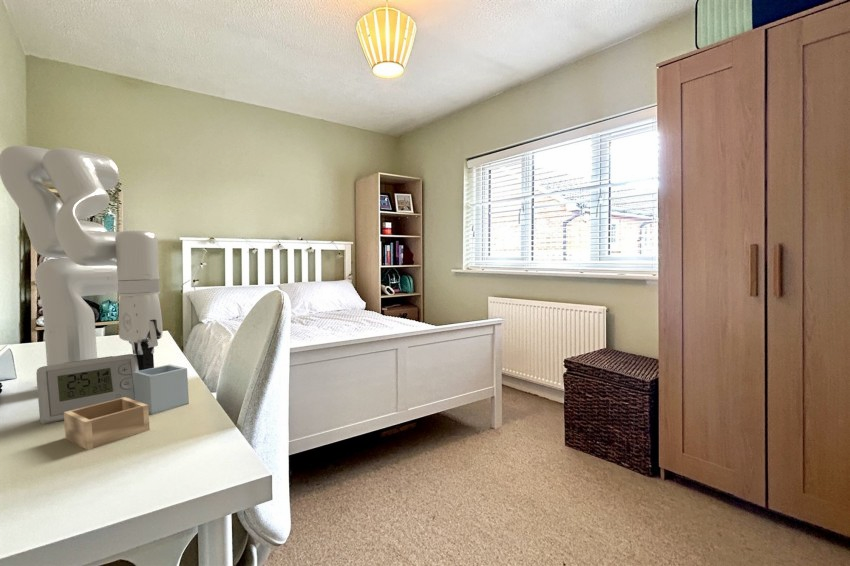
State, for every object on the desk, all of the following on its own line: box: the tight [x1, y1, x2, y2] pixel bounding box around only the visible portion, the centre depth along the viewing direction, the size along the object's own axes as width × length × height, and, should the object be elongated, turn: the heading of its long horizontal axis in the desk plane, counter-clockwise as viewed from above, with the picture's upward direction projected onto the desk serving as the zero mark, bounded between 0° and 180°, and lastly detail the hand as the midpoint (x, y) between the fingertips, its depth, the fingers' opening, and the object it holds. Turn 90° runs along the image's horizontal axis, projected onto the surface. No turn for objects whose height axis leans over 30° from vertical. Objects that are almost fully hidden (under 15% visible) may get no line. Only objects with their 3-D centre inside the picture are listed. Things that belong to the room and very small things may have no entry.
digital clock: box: [36, 353, 139, 425], centre depth 85 cm, size 16×9×11 cm, turn 123°
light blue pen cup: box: [133, 364, 190, 415], centre depth 86 cm, size 7×7×8 cm
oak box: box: [63, 397, 151, 451], centre depth 72 cm, size 9×9×5 cm
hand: (144, 371), depth 92 cm, fingers closed
